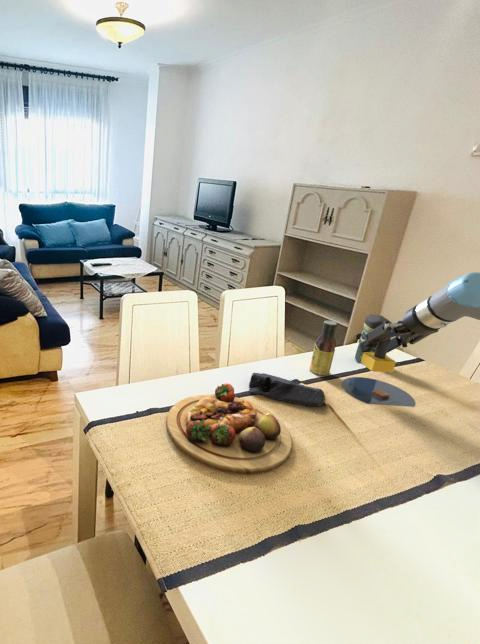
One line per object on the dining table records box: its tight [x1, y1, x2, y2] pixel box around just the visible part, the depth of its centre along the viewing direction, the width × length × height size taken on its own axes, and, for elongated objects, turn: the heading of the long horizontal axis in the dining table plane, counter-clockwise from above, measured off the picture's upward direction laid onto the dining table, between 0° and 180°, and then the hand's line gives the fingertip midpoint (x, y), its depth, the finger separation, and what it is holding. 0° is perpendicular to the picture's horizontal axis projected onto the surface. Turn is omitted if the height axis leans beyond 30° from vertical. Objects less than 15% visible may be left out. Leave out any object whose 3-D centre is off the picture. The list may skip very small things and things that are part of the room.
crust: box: [372, 390, 390, 399], centre depth 120 cm, size 3×3×1 cm
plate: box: [340, 376, 416, 408], centre depth 122 cm, size 20×20×1 cm
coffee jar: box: [354, 313, 393, 365], centre depth 141 cm, size 10×8×19 cm
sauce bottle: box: [309, 320, 338, 377], centre depth 131 cm, size 6×6×20 cm
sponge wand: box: [360, 338, 397, 373], centre depth 112 cm, size 6×6×14 cm
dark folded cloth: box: [248, 372, 326, 407], centre depth 121 cm, size 15×22×5 cm
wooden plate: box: [165, 382, 293, 475], centre depth 100 cm, size 32×32×8 cm
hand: (373, 348), depth 116 cm, fingers closed on sponge wand, 6 cm apart
